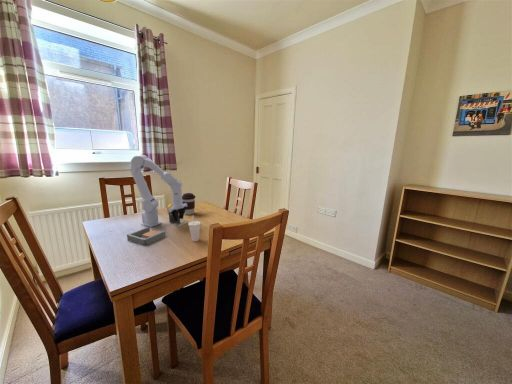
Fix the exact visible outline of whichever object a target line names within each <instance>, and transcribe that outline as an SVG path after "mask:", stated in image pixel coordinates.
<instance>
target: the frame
mask: <svg viewBox="0 0 512 384" xmlns="http://www.w3.org/2000/svg"><path fill="white" fill-rule="evenodd" d="M150 228H151V227H149V226H146V227H143V228H141V229H138V230H136V231H133V232H131V233H128V234H126V237H127V238H126V239H127V241H130V242H133V243H135V244H136V243H137V244H139V245H142V246H148V245H149V244H152V243H153V242H156V241H158V240H161V239H163V238H165V237H166V236H167V235H166V231H165V230H163V231H159V232H160V233H158V234H155V235H153V236H151V237H148V238H144V237H142V234H145V233H147V232H150V231H151V230H150ZM140 236H141V237H140Z"/></svg>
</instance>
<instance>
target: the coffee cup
mask: <svg viewBox="0 0 512 384" xmlns="http://www.w3.org/2000/svg"><path fill="white" fill-rule="evenodd" d="M195 198H196V195H195V194H193V192H192V193H191V192H187V193H182V203H183V204H185V203H186V204H187V207H184V208H186V210H185V213H184V215H186V216H188V215H189V216H190V215H194V214H195V207H196V205H195V204H196V199H195Z"/></svg>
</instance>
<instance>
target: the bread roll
mask: <svg viewBox="0 0 512 384" xmlns="http://www.w3.org/2000/svg"><path fill="white" fill-rule="evenodd" d="M171 207H173V202H171V203H169V204H168V206H167V208H166V210H167V212H168V209H169V208H171ZM177 211H178V209H177ZM168 213H169V214H171V212H168Z"/></svg>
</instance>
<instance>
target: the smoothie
mask: <svg viewBox="0 0 512 384" xmlns="http://www.w3.org/2000/svg"><path fill="white" fill-rule="evenodd" d="M187 224H188V225H187V226H188V227H189V233H190V236H191V241H192V242H198V241H200V231H201V221H198V220H195V216H194V214H192V221H190V222H188V223H187Z"/></svg>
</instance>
